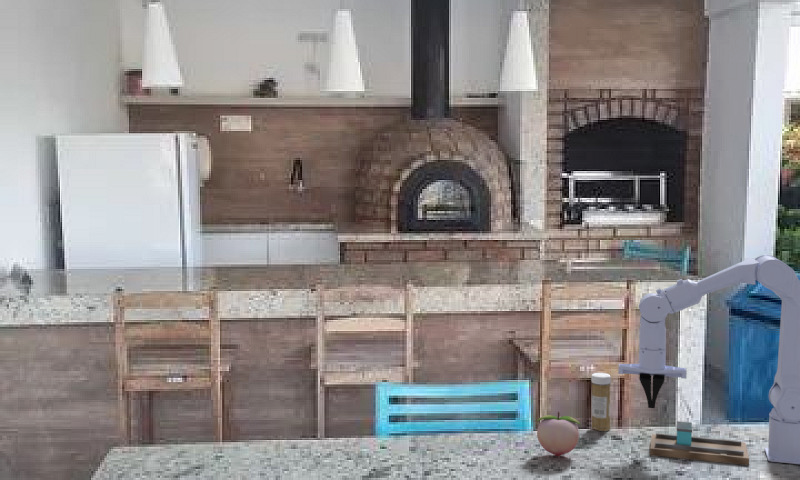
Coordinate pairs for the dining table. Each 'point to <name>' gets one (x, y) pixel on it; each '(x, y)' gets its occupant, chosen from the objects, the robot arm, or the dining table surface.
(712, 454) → the fader console
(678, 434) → the fader tab
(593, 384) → the sprinkles bottle
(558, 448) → the decorative fruit
